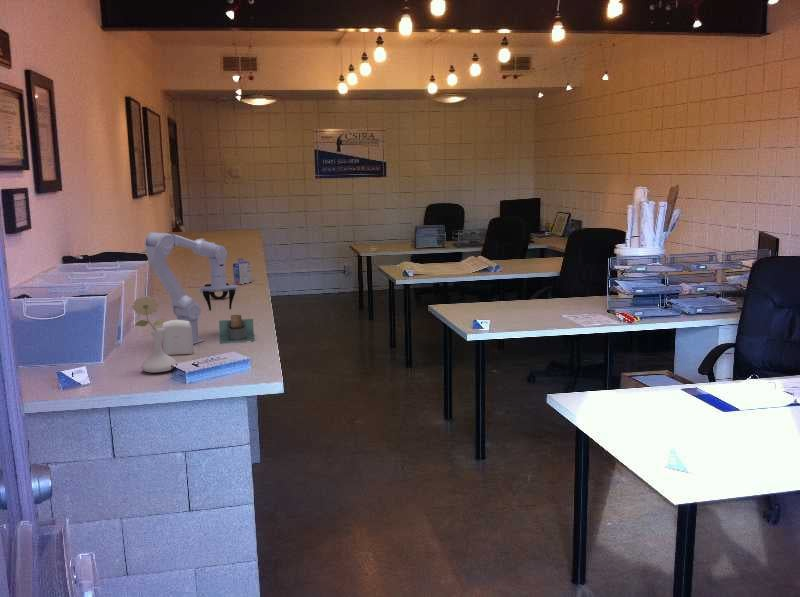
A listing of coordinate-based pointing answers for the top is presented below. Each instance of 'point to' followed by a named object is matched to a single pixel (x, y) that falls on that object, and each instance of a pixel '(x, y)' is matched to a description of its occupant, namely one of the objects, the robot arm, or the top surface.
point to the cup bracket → (236, 332)
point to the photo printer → (177, 337)
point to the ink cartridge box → (242, 272)
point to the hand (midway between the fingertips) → (220, 309)
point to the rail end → (236, 322)
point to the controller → (214, 293)
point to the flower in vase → (158, 358)
